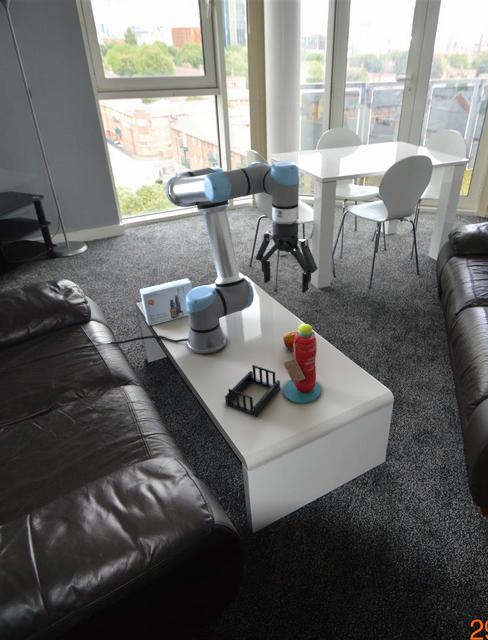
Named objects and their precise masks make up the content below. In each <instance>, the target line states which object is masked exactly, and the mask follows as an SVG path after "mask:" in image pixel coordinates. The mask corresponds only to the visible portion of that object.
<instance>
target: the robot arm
mask: <svg viewBox="0 0 488 640" xmlns="http://www.w3.org/2000/svg"><path fill="white" fill-rule="evenodd" d="M299 173H300V172H299V165H298V164H297V163H295V162H292V161H277V162H274V163H272V164H271V165H270V164H267V163H266V162H262V161H253V162H251V163H250V164H249V165H247V166H245V167H240V168H236V169H229V170H223V168H221V167H218V166H214V167H213V166H212V167H205V168H199V169H193V170H189V171H183V172H178V173H176V174H174V175H173V176H171V177H170V178H169V179H168V180H167V181H166V184H165V189H164V190H165V196H166V197H167V200H168V201H169V202H170V203H171V204H172V205H174V206H176V207H181V208H191V207H196V208H197V211H198V212H200V213H201V214H202V215H203V220H204V224H205V228H206V232H207V237H208V241H209V246H210V250H211V254H212V259H213V262H214V267H215V271H216V275H217V277H216V279H215V280H214V284H215V287H214V286H212V285H207V284H205V285H199V286H196V287H194V288H192V290H191V291H189V293H188V294H187V296H186V309H187V313H188V316H187V319H188V324H189V332H188V337H187V338H180V339H173V338H172V339H171V338H169V337H167V336H163V335H146V336H138V337H133V338H130V339H129V338H128V339H125V340H118V341H110V342H111V343H110V344H109V345H119V344H126V343H130V342H135V341H139V340H147V339H163V340H165V341H168V342H171V343H180V342H181V343H182V342H187V347H188V349H189V350H190V351H191V352H193V353H195V354H199V355H210V354H214V353H217V352H219V351H221V350H223V348H225V347H226V345H227V336H226V333H225V332H224V330H223V328H222V326H221V324H220V319H221V318H224V317H226V316H230V315H232V314H235V313H238V312H243V311H244V310H245V309H248V308H249V307H251V306H252V304H253V302H254V295H255V294H254V293H255V292H254V288H253V285H252V284H251V281H250V280H249V279H247V278H245V275H244V274H242V273H241V272H240V269H239V263H238V259H237V255H236V254H237V253H236V249H235V246H234V241H233V236H232V232H231V231H232V230H231V226H230V220H229V218H228V213H227V212H228V211H227V208H228V207H229V205H230V202H229V200H234V199H238V198H243V197H249V196H253V195H258V194H262V193H265V194H266V195H269V196H271V216H272V217H271V219H272V222H271V224H272V227H271V228H272V232H271V231H267V232H265V233H264V234H263V238H262V239H263V240H262V242H261V243H260V244H261V245H260V247H259V249H258V251H257V253H256V255H255V260H256V261H259V262H260V264H261V272H262V273H263V283H264V284H268V283H269V282H270V281H271V278H272V277H271V261H270V260H269V259H270V258H271V257H272V256H273V255H274V254H275V252H276V251H277V250H278V251H280V252H285V253H288V254H289V253H290V255H291V256H293V257H294V258H295V261H296V262H297V263H298V265H299V266H300V267H301V269H302V270H303V272H302V273H301V278H302V279H301V293H303V294H305V293H306V292H307V291H308V290H309V283H310V282H311V281H312V274H314V273H315V272H316V271H317V270H318V266H317V263H316V261H315V259H314V256H313V253H312V251H311V249H310V246H309V239H308V238H304V239H300V238H299V221H298V220H299V200H300V199H299V195H300V194H299V193H300V192H299V191H300V176H299V175H300V174H299ZM271 240H272V241H273V243H274V244H273V245H272V246H271V248H270V249H269V250H268V251H267V248H268V246H269V244H270V242H271ZM266 251H267V252H266Z"/></svg>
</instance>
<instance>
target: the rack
mask: <svg viewBox="0 0 488 640" xmlns="http://www.w3.org/2000/svg"><path fill="white" fill-rule="evenodd" d="M251 367H252V370H249V371H248V372H247V373H246V374H245V375H244V376H243V377H242V379H240V380H239V381H238V383H237V384H236V385H234V386H233V387H232V389H231V388H228V389H227V391H228V392H227V393H226V395H224V398H225V399H224V400H225V406H227V407H229V408H232V409H234V410H237V411H240V412H242V413H245V414H247V415H251V416H252V417H256V418H257V417H258V416H259V415H260V414H261V413H262V412H263V411H264V409H265V408H266V407H267V406H268V404H270V402H271V401H272V400H273V398H274V397H276V395H277V394H278V393H279V392H280V391H281V380H279V379H276V372H275V371H273V370H270V369H267V368H264V367H262V366H258V365H255V364H252V365H251ZM256 369H257V370H258V372H259V373H258V374H259V379H257V374H256ZM263 371H264V372H265V381H264V380H263ZM269 373H270V374H271V375H272V384H271V383H270V379H269V377H270V376H269ZM252 383H254V384H256V385H260V386H263V387H265V388H269V389H268V390H267V391H266V392H265V393H264V394H263V396H262V397H261V398H260V399H259V400H258V401H257V402H256V403H255V404H254V401H253V399H254V398H253V396H251V395H247V394H245V393H243V392H244V391H245V390H246V389H247V388H248V386H250V384H252ZM240 396H241V398H242V406H241V405H240ZM246 399H249V409H248V408H247V400H246ZM234 401H236V404H235V403H234Z"/></svg>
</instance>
